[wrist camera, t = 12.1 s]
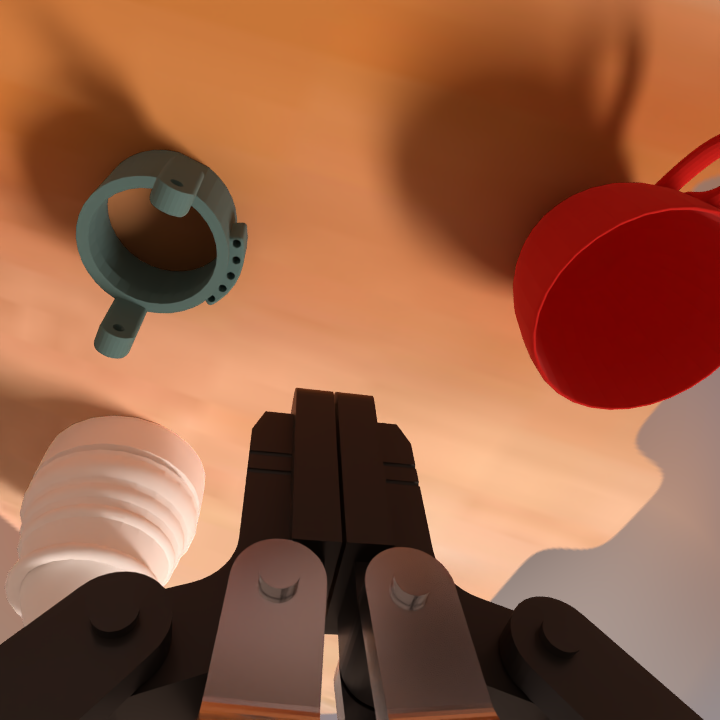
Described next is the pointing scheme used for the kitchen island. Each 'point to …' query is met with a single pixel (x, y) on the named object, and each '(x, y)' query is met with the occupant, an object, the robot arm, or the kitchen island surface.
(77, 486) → the honey pot
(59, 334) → the kitchen island surface
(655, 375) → the ceramic cup
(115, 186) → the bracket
